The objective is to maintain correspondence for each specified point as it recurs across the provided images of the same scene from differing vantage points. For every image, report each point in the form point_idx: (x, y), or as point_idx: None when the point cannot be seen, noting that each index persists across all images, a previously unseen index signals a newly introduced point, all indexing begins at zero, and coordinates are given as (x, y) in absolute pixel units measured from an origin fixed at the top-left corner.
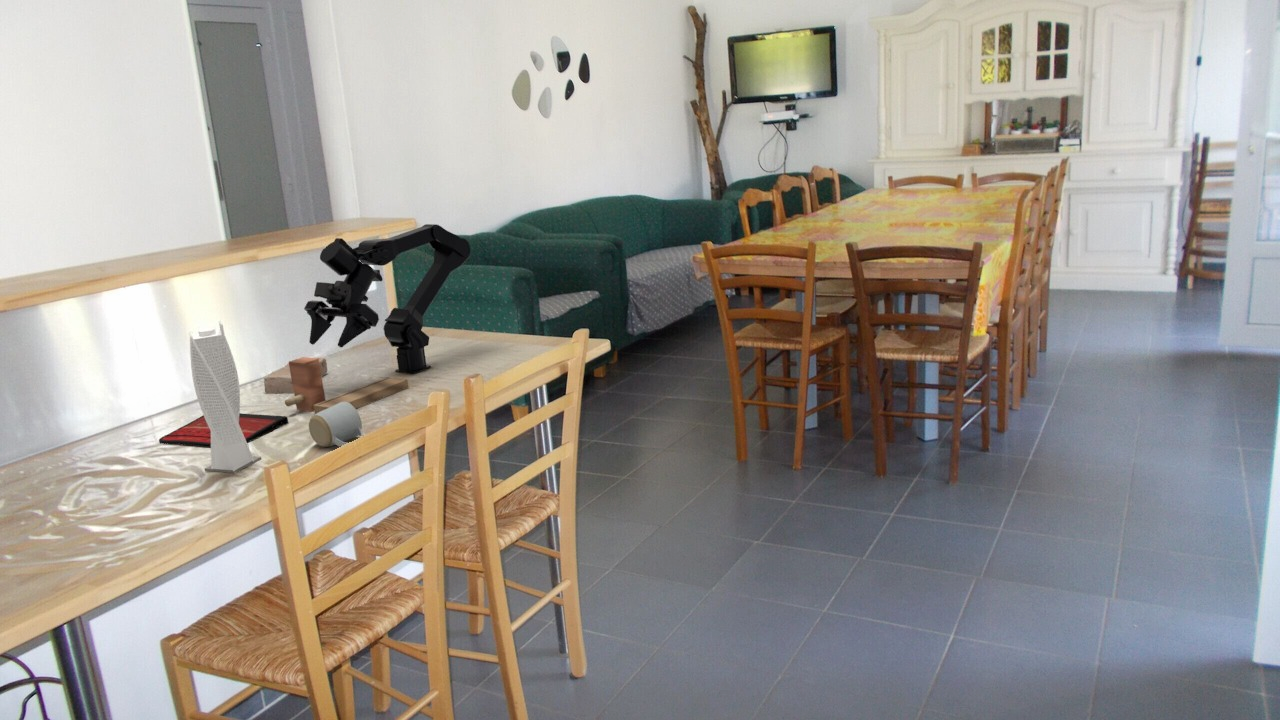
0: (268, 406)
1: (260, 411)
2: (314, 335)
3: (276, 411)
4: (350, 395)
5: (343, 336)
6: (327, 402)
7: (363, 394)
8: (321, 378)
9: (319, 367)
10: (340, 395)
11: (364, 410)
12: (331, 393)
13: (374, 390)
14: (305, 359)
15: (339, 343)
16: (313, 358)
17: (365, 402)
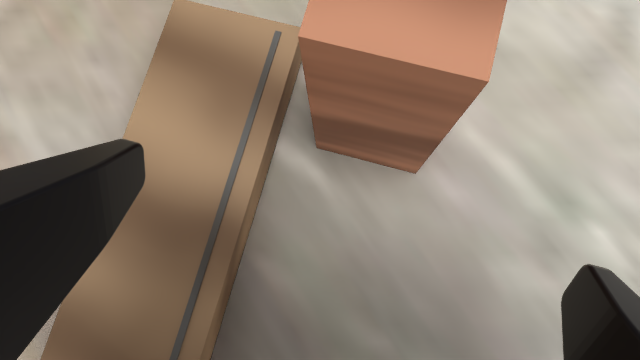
0: (611, 126)
1: (593, 60)
2: (617, 354)
3: (513, 66)
4: (194, 172)
5: (18, 169)
6: (254, 66)
7: None
8: (309, 97)
9: (305, 65)
10: (249, 170)
11: (103, 105)
12: (417, 340)
13: (103, 258)
14: (406, 9)
15: (109, 143)
16: (351, 40)
17: None
